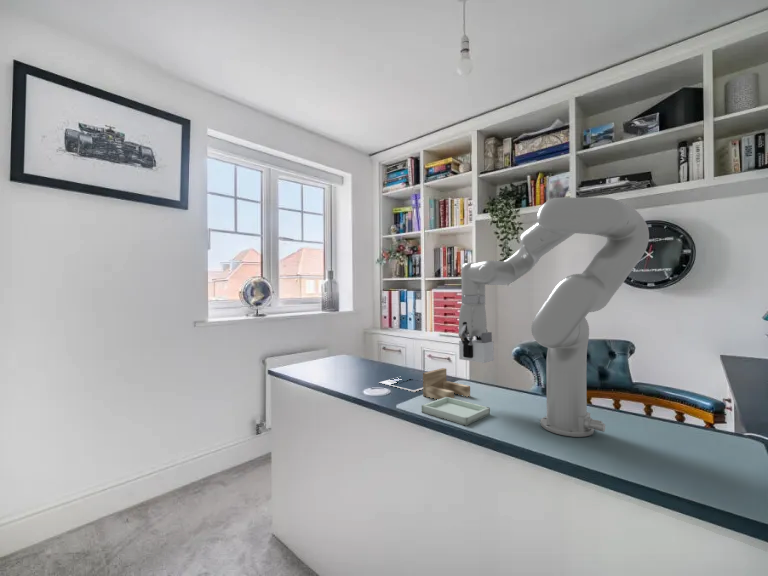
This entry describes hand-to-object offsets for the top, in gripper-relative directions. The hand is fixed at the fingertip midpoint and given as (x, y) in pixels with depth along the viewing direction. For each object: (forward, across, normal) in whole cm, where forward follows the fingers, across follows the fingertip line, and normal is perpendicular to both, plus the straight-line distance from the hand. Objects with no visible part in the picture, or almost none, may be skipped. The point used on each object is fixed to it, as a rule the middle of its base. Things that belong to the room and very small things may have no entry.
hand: (473, 355), depth 118 cm
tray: (+15, +12, +1) cm, 20 cm away
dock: (+15, 0, -10) cm, 18 cm away
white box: (+1, 0, +1) cm, 1 cm away
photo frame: (+16, -3, -31) cm, 35 cm away
